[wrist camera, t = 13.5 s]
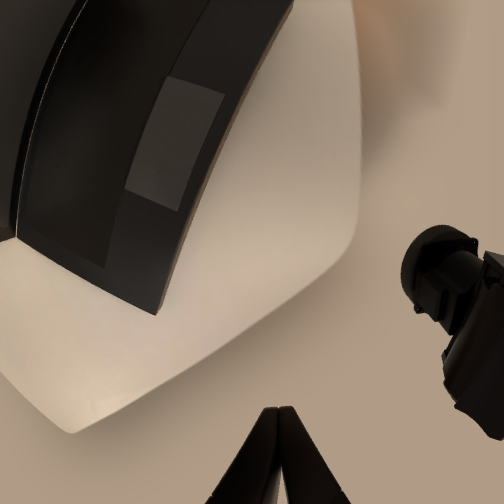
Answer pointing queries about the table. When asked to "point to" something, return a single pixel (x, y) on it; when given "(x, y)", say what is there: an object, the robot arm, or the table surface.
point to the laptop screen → (25, 85)
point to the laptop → (137, 134)
